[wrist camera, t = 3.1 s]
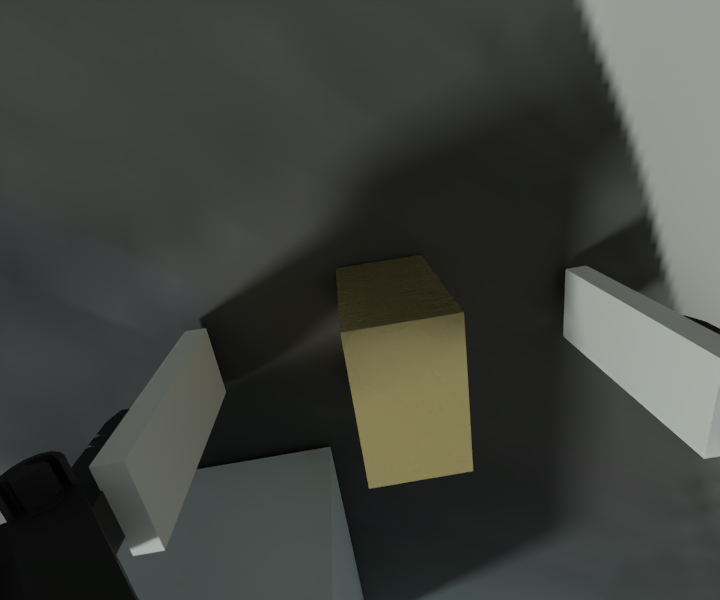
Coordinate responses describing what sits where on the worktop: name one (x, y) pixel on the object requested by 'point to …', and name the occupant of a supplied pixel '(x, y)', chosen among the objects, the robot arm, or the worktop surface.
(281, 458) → the grey square hollow box
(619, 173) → the worktop surface
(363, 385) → the block
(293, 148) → the worktop surface
